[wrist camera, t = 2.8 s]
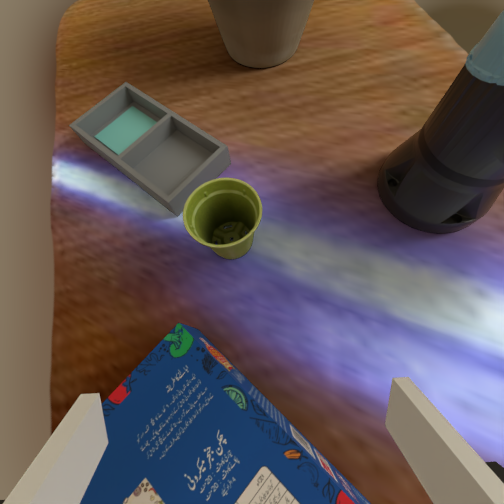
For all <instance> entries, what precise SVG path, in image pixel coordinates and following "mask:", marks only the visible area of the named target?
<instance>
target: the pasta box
mask: <svg viewBox="0 0 504 504" xmlns="http://www.w3.org/2000/svg"><path fill="white" fill-rule="evenodd" d="M101 405H102V411H103V416H104V422H105V427H106V433H107V438H108V445H107V447H106V449H105V451H104V453H103V455H102V457H101V460H100V462H99V464H98V466H97V468H96V470H95V472H94V474H93V476H92V479H91V481H90V483H89V485H88V487H87V489H86V491H85V493H84V495H83V497H82V500H81V502H80V504H371V503H370V502H369V501H368V500H367V499H366V498H365V497H364V496H363V495H362V494H361V493H360V492H359V491H358V490H357V489H356V488H355V487H354V486H353V485H352V484H351V483H350V482H349V481H348V480H347V479H346V478H345V477H344V476H343V475H342V474H341V473H340V472H339V471H338V470H337V469H336V468H335V467H334V466H333V465H332V464H331V463H330V462H329V461H328V460H327V459H326V458H325V457H324V456H323V455H322V454H321V453H320V452H319V451H318V450H317V449H316V448H315V447H314V446H313V445H312V444H311V443H310V442H309V441H308V440H307V439H306V438H305V437H304V436H303V435H302V434H301V433H300V432H299V431H298V430H297V429H296V428H295V427H294V426H293V425H292V424H291V423H290V422H289V421H288V420H287V419H286V418H285V417H284V416H283V415H282V414H281V413H280V412H279V411H278V410H277V409H276V408H275V407H274V406H273V405H272V403H271V402H270V401H269V400H268V399H267V398H266V397H265V396H264V395H263V394H262V393H261V392H260V391H259V390H258V389H257V388H256V387H255V386H254V385H253V384H252V383H251V382H250V381H249V380H248V379H247V378H246V377H245V376H244V375H243V374H242V373H241V372H240V371H239V370H238V369H237V368H236V367H235V366H234V365H233V364H232V363H231V362H230V361H229V360H228V359H227V358H226V357H225V356H224V355H223V354H222V353H221V352H220V351H219V350H218V349H217V348H216V347H215V346H214V345H213V344H212V343H211V342H210V341H209V340H208V339H207V338H206V337H205V336H204V335H203V334H202V333H201V332H200V331H199V330H198V329H196V328H193V327H190V326H187V325H184V324H181V323H178V324H177V325H176V326H175V327H174V328H173V329H172V330H171V331H170V332H169V334H168V335H167V336H166V337H165V338H164V339H163V340H162V341H161V342H160V343H159V344H158V345H157V346H156V347H155V348H154V349H153V350H152V351H151V353H150V354H149V355H148V356H147V357H146V358H145V359H144V360H143V361H142V362H141V363H140V364H139V365H138V366H137V367H136V368H135V369H134V370H133V372H132V373H131V374H130V375H129V376H128V377H127V378H126V379H125V380H124V381H123V382H122V383H121V384H120V385H119V386H118V387H117V388H116V389H115V390H114V392H113V393H112V394H111V395H110V396H109V397H108V398H107V399H106V400H105V401H104V402H103V403H102V404H101Z"/></svg>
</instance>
